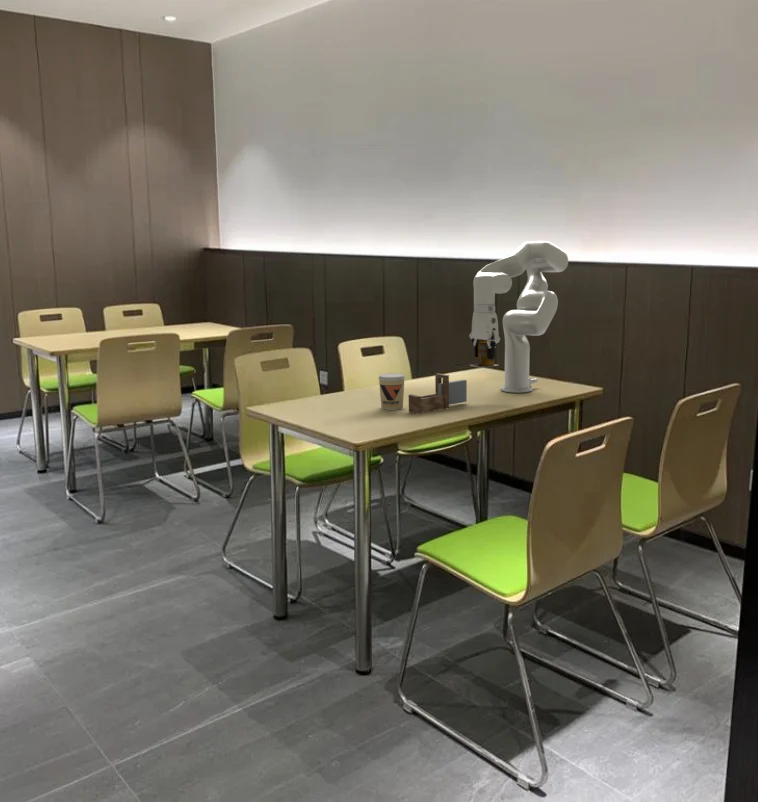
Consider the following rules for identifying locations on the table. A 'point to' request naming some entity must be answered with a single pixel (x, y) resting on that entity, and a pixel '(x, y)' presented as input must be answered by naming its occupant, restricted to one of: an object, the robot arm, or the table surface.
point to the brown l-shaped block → (431, 397)
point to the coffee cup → (391, 390)
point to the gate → (455, 391)
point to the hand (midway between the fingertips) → (484, 357)
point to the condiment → (483, 356)
